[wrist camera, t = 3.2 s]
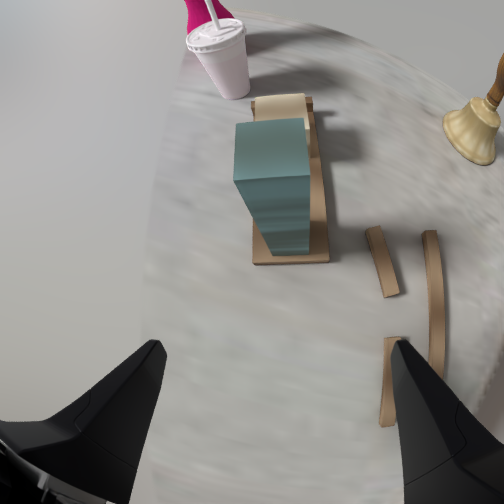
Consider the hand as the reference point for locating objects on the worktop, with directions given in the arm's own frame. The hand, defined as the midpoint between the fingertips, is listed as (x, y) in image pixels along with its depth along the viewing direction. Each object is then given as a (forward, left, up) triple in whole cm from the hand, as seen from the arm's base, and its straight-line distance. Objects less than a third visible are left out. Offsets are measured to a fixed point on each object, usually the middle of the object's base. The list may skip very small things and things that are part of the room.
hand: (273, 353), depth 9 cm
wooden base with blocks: (+13, +7, -13) cm, 20 cm away
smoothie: (+22, +19, -13) cm, 32 cm away
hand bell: (+30, -10, -13) cm, 34 cm away
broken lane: (+6, -9, -13) cm, 17 cm away
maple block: (+16, +9, -12) cm, 22 cm away
